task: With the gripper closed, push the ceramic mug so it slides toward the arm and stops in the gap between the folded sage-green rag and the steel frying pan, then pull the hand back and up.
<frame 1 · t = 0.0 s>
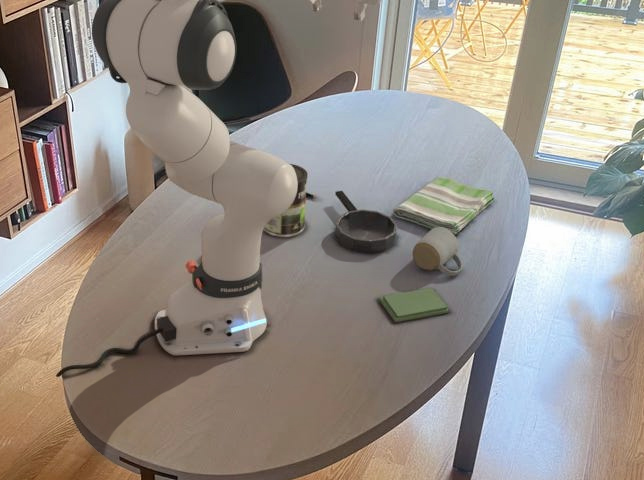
hand: (338, 14, 159), 52 cm above the table, tool tilted 20°, fingers open, 8 cm apart
steel pan: (365, 237, 192), on the table
coffee can: (283, 226, 196), on the table
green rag: (413, 306, 171), on the table
fountain pen: (294, 193, 210), on the table
ceramic mug: (437, 266, 183), on the table
dish towel: (443, 209, 204), on the table
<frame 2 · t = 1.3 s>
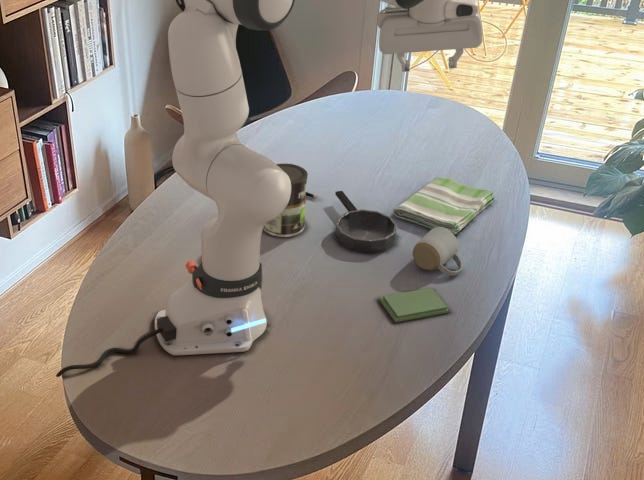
hand: (428, 68, 168), 41 cm above the table, tool pointing down, fingers open, 8 cm apart
nothing on the table moved.
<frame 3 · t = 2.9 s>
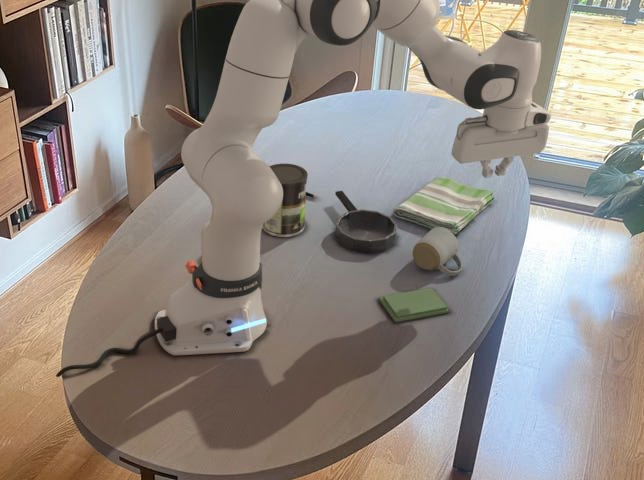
hand: (493, 175, 173), 21 cm above the table, tool pointing down, fingers closed
nothing on the table moved.
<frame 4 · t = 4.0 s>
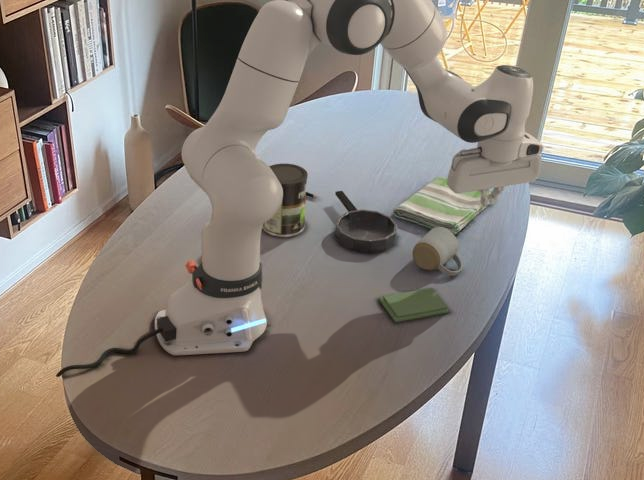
hand: (487, 203, 177), 14 cm above the table, tool pointing down, fingers closed
nothing on the table moved.
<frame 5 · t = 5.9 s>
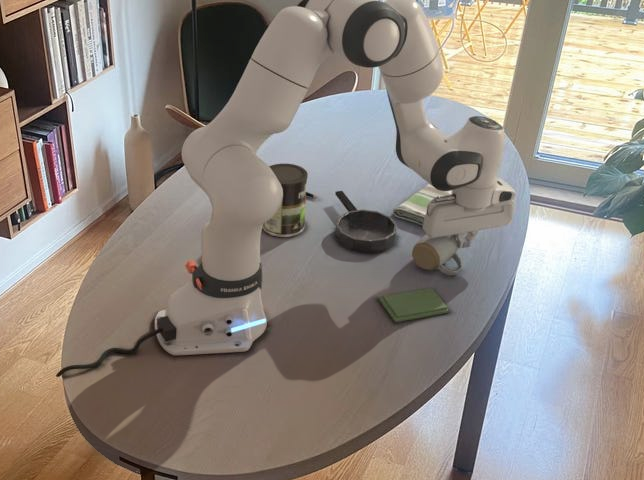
hand: (463, 246, 182), 4 cm above the table, tool pointing down, fingers closed
ceramic mug: (437, 265, 183), on the table, touching gripper
everything else where it was.
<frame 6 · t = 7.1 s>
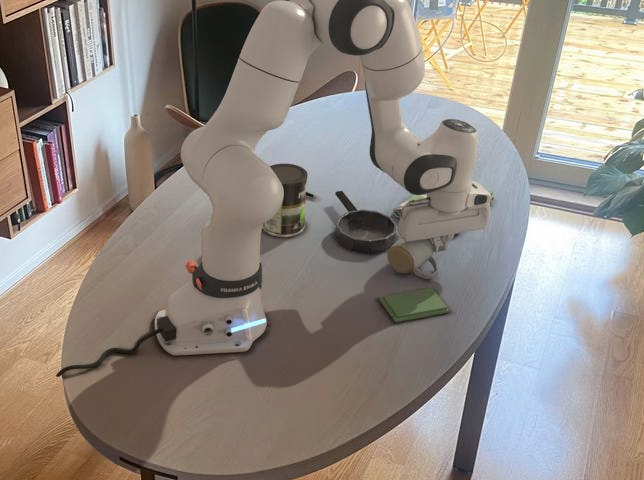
hand: (439, 250, 181), 4 cm above the table, tool pointing down, fingers closed
ceramic mug: (414, 269, 182), on the table, touching gripper
everything else where it was.
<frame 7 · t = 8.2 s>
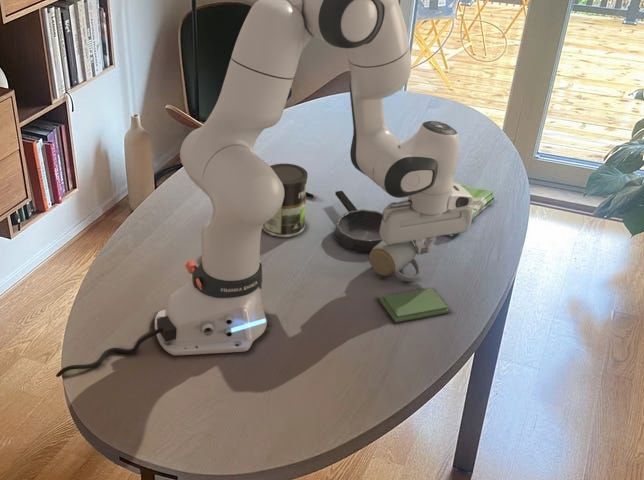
hand: (421, 252, 180), 4 cm above the table, tool pointing down, fingers closed
ceramic mug: (396, 271, 181), on the table, touching gripper
everything else where it was.
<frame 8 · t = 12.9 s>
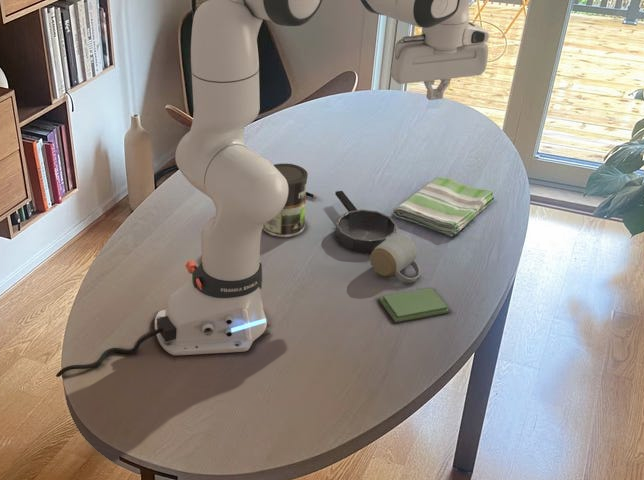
hand: (434, 98, 172), 34 cm above the table, tool pointing down, fingers closed
ceramic mug: (396, 272, 181), on the table
everything else where it was.
at the end: ceramic mug inside the target area (0.5 cm from its centre), on the table; ceramic mug tilted 2° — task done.
